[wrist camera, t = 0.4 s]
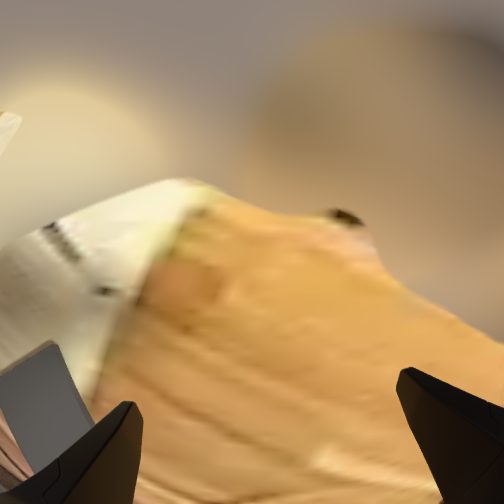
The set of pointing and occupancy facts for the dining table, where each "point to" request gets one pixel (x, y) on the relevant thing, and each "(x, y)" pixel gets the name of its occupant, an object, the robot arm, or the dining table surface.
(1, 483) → the socket block
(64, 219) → the dining table surface
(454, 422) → the robot arm
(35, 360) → the mat
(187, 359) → the dining table surface
